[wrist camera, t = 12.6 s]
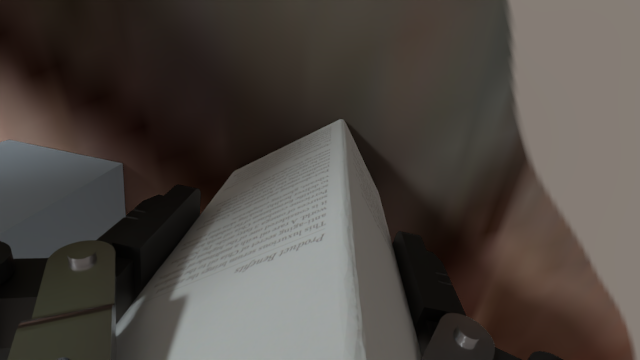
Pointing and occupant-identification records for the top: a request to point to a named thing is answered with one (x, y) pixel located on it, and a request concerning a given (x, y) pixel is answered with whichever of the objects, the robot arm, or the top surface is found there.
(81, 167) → the blue-grey block
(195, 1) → the top surface
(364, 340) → the skincare box
